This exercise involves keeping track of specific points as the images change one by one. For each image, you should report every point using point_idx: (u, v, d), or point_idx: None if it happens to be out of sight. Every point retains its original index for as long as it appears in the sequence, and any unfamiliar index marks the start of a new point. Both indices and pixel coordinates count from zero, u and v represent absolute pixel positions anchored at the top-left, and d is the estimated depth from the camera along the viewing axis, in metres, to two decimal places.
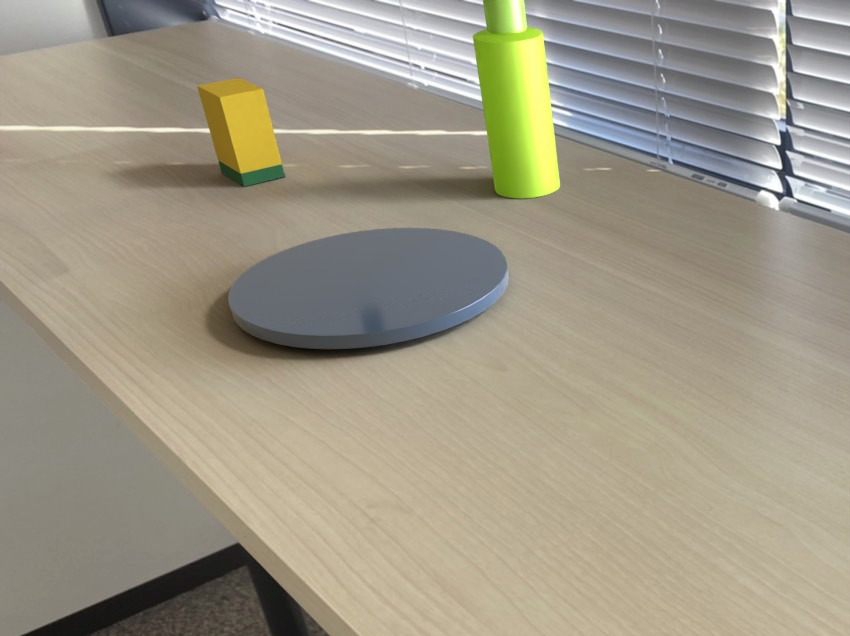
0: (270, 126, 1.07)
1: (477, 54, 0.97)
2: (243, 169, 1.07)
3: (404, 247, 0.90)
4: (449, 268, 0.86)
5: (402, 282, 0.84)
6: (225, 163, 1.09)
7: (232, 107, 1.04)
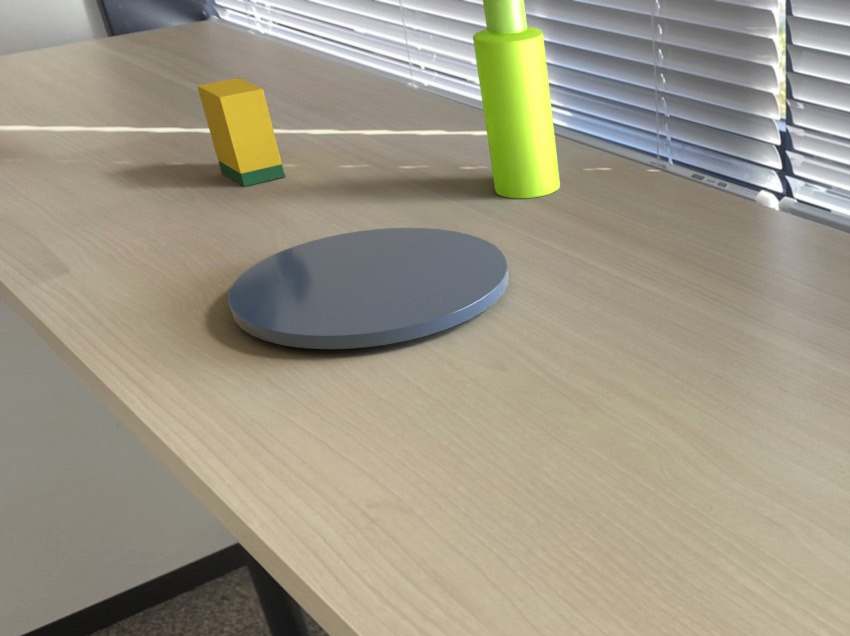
0: (270, 126, 1.07)
1: (477, 54, 0.97)
2: (243, 169, 1.07)
3: (404, 247, 0.90)
4: (449, 268, 0.86)
5: (402, 282, 0.84)
6: (225, 163, 1.09)
7: (232, 107, 1.04)
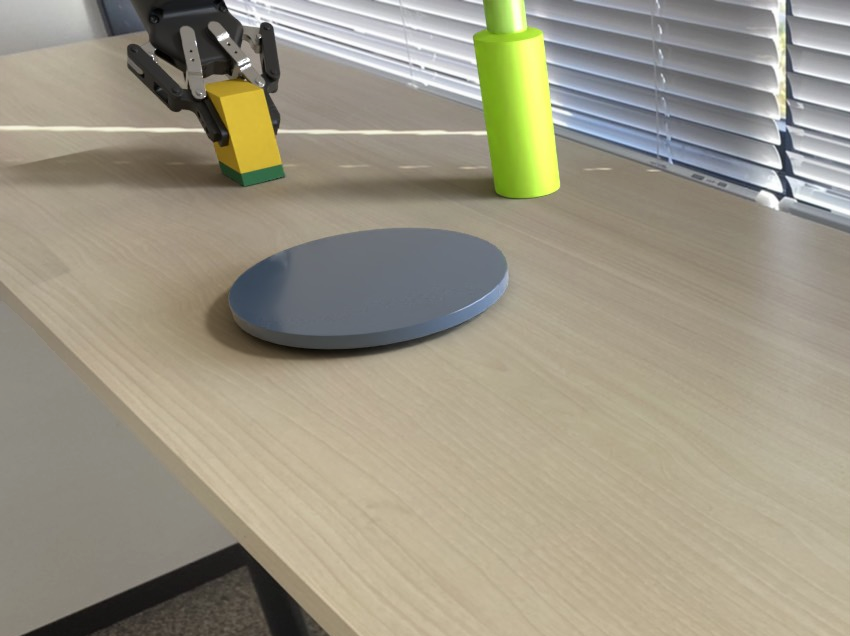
0: (270, 126, 1.07)
1: (477, 54, 0.97)
2: (243, 169, 1.07)
3: (404, 247, 0.90)
4: (449, 268, 0.86)
5: (402, 282, 0.84)
6: (225, 163, 1.09)
7: (232, 107, 1.04)
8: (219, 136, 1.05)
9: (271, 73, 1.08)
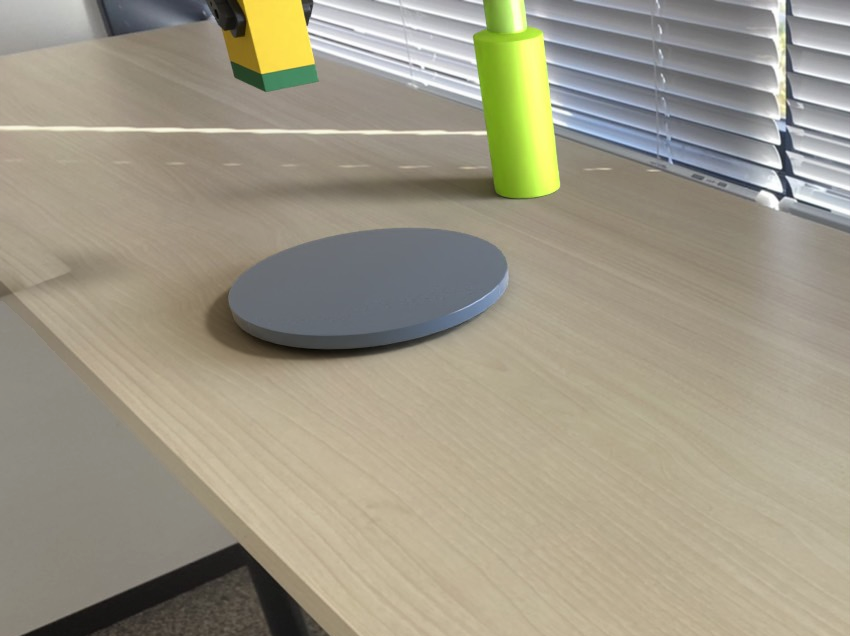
0: (300, 11, 0.80)
1: (477, 54, 0.97)
2: (264, 68, 0.80)
3: (404, 247, 0.90)
4: (449, 268, 0.86)
5: (402, 282, 0.84)
6: (240, 63, 0.82)
7: None
8: (233, 22, 0.79)
9: None
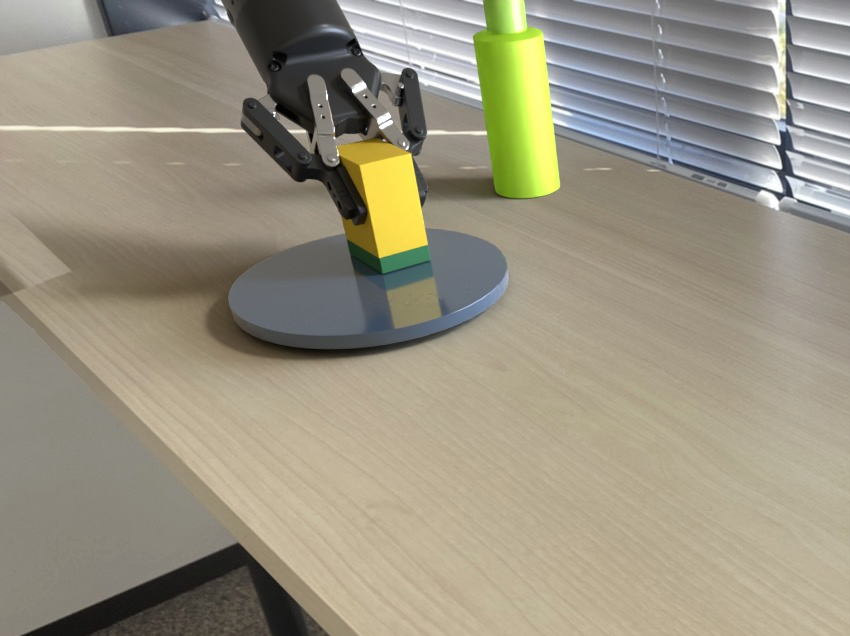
0: (417, 199, 0.85)
1: (477, 54, 0.97)
2: (382, 253, 0.85)
3: None
4: (449, 268, 0.86)
5: (402, 282, 0.84)
6: (357, 243, 0.87)
7: (373, 177, 0.82)
8: (355, 213, 0.83)
9: (416, 132, 0.86)
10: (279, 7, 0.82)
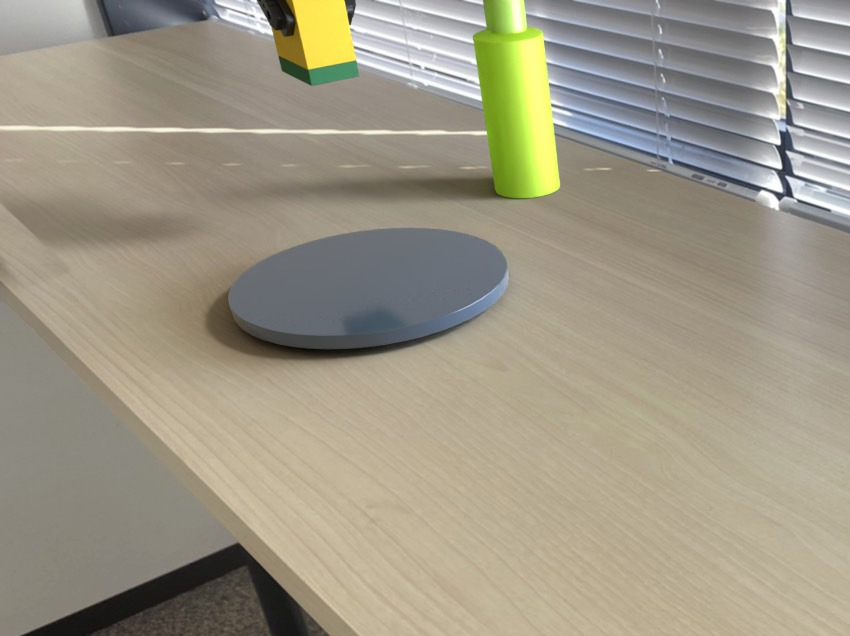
0: (344, 12, 0.88)
1: (477, 54, 0.97)
2: (311, 64, 0.88)
3: (404, 247, 0.90)
4: (449, 268, 0.86)
5: (402, 282, 0.84)
6: (287, 58, 0.90)
7: None
8: (283, 22, 0.86)
9: None
10: None
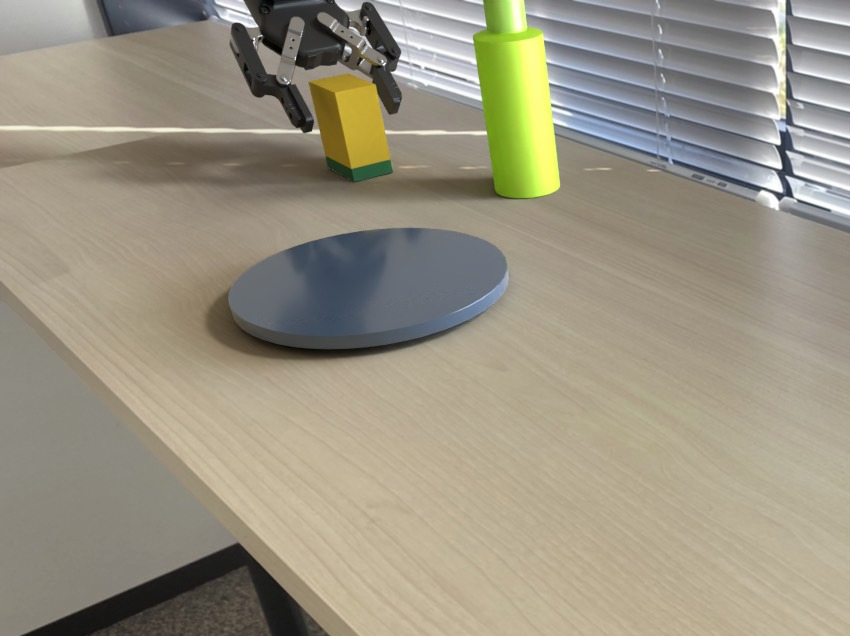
0: (381, 121, 1.07)
1: (477, 54, 0.97)
2: (354, 164, 1.07)
3: (404, 247, 0.90)
4: (449, 268, 0.86)
5: (402, 282, 0.84)
6: (334, 158, 1.09)
7: (346, 102, 1.04)
8: (303, 122, 1.04)
9: (393, 52, 1.09)
10: None
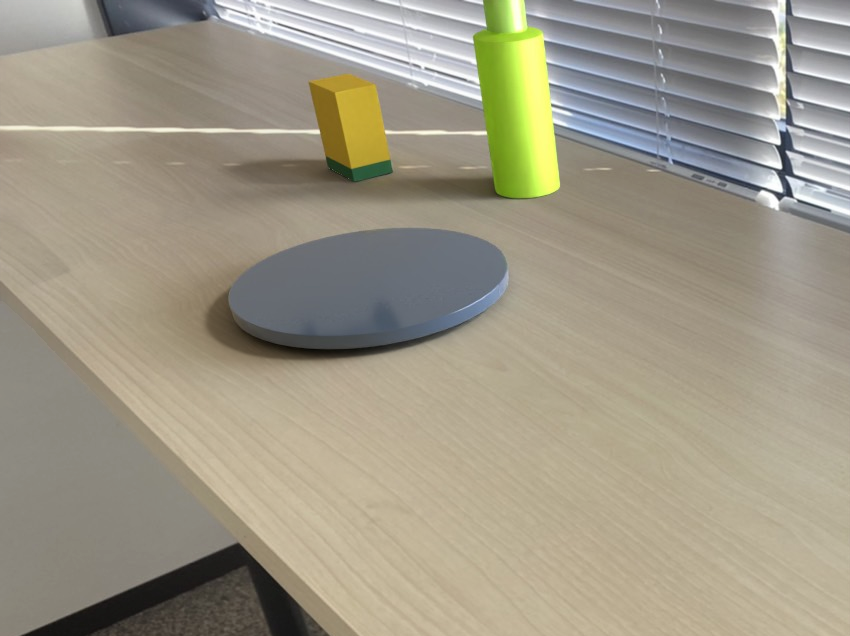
0: (381, 121, 1.07)
1: (477, 54, 0.97)
2: (354, 164, 1.07)
3: (404, 247, 0.90)
4: (449, 268, 0.86)
5: (402, 282, 0.84)
6: (334, 158, 1.09)
7: (346, 102, 1.04)
8: None
9: None
10: None
